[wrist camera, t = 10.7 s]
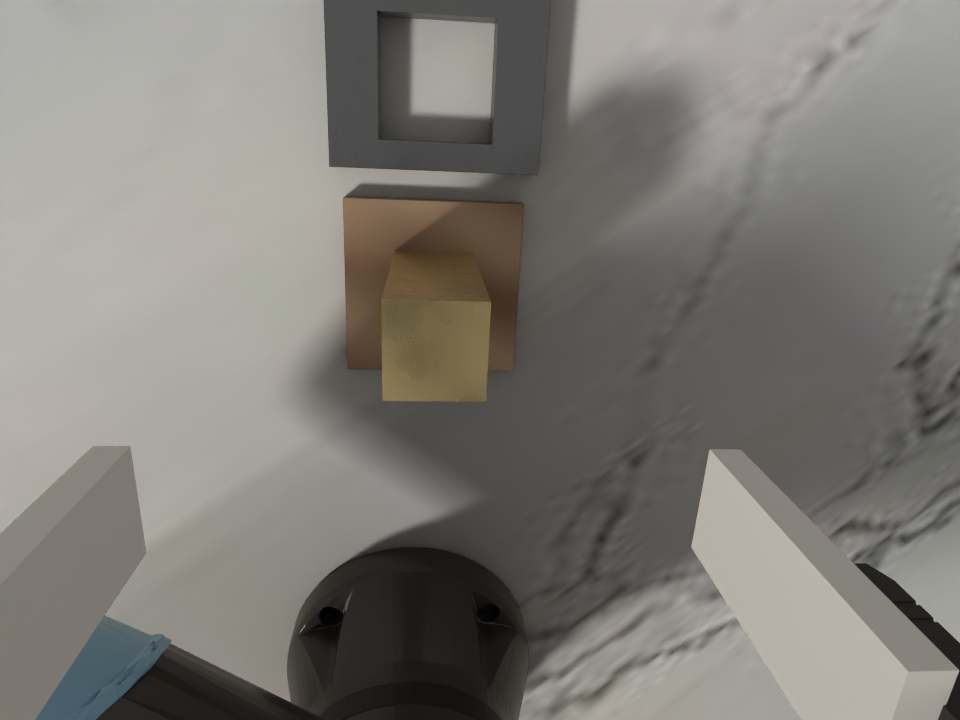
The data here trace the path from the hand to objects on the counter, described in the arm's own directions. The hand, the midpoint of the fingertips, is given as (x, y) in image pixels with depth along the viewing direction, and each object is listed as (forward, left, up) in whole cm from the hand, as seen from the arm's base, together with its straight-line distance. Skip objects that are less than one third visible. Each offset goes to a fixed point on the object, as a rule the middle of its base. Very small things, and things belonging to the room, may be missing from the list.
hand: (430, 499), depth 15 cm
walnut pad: (0, 0, -21) cm, 21 cm away
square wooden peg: (0, 0, -20) cm, 20 cm away
